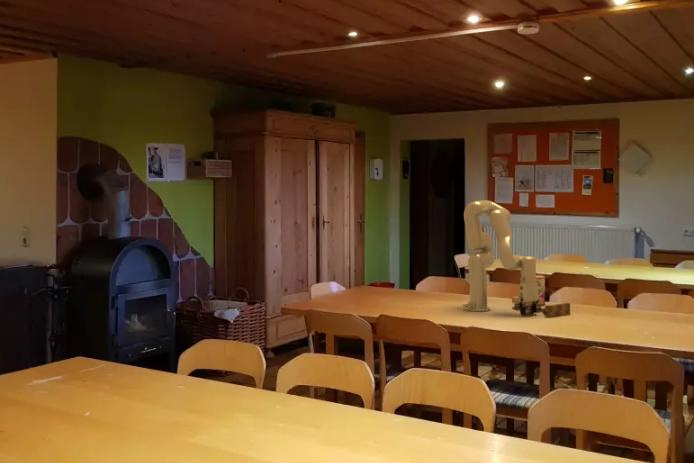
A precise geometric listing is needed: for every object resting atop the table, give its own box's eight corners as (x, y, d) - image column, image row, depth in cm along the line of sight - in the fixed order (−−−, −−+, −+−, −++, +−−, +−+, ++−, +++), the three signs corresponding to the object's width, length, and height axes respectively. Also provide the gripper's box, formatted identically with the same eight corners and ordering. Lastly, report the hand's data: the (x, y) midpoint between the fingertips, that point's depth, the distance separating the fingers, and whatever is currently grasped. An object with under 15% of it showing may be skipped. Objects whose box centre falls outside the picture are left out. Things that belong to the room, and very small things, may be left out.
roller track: (545, 315, 374) (545, 309, 374) (512, 308, 396) (512, 302, 396) (558, 313, 379) (558, 307, 379) (524, 306, 401) (524, 300, 401)
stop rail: (547, 317, 369) (547, 306, 368) (545, 317, 370) (545, 305, 370) (570, 314, 376) (570, 303, 376) (567, 313, 378) (567, 302, 378)
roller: (525, 314, 373) (523, 308, 375) (521, 316, 376) (519, 310, 377) (535, 313, 377) (533, 307, 378) (531, 315, 380) (529, 308, 381)
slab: (528, 306, 384) (528, 300, 384) (511, 302, 395) (511, 297, 395) (543, 303, 389) (543, 298, 389) (526, 300, 401) (526, 295, 400)
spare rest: (528, 316, 373) (528, 315, 373) (520, 314, 378) (520, 313, 378) (536, 315, 375) (536, 314, 375) (527, 313, 381) (527, 312, 381)
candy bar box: (525, 305, 405) (525, 276, 404) (524, 303, 410) (524, 275, 409) (545, 305, 404) (545, 276, 403) (543, 304, 409) (544, 275, 408)
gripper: (521, 282, 368) (521, 316, 369) (545, 279, 376) (545, 312, 378) (510, 280, 374) (510, 314, 376) (535, 277, 383) (535, 310, 384)
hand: (528, 313), depth 377 cm, fingers closed on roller, 7 cm apart
